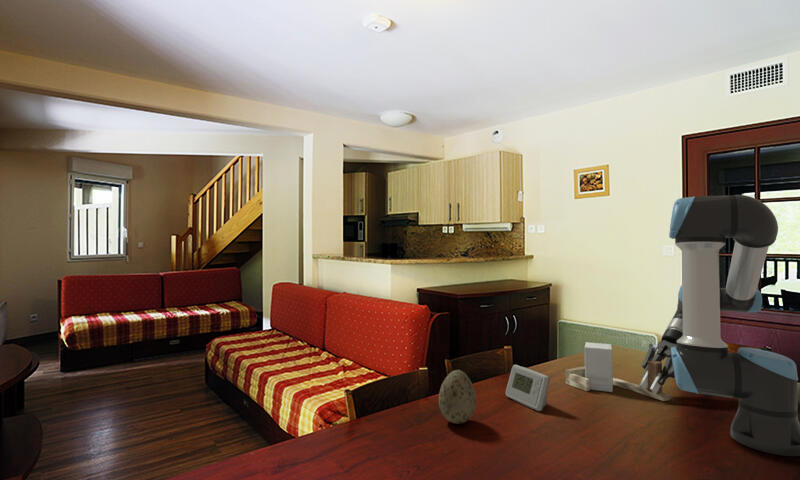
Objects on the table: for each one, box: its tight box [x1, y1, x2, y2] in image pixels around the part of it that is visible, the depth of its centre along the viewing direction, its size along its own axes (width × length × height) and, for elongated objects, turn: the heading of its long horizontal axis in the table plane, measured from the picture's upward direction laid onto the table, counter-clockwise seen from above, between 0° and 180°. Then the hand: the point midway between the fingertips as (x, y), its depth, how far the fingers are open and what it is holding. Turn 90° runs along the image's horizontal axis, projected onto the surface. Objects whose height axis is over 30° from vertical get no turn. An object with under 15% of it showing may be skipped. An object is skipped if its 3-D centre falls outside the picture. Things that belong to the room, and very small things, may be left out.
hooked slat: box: [565, 360, 671, 402], centre depth 151 cm, size 28×18×12 cm, turn 26°
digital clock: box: [505, 364, 551, 412], centre depth 140 cm, size 16×9×11 cm, turn 15°
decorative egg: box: [438, 369, 477, 425], centre depth 125 cm, size 11×11×15 cm
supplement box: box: [584, 341, 614, 393], centre depth 155 cm, size 9×9×15 cm
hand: (647, 389), depth 143 cm, fingers closed on hooked slat, 3 cm apart
